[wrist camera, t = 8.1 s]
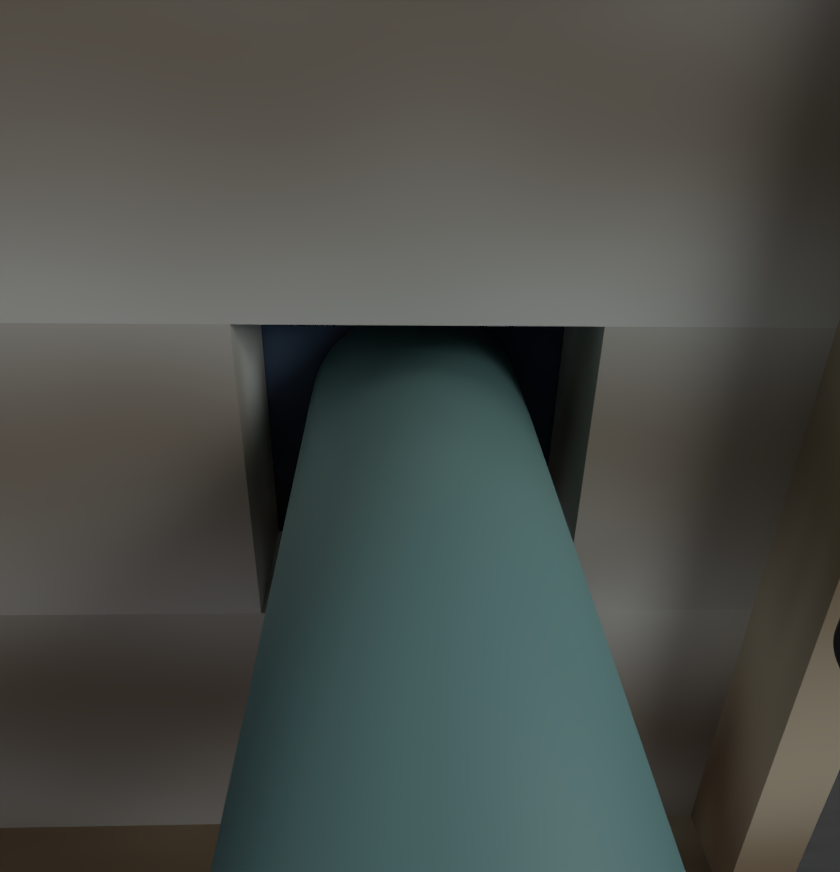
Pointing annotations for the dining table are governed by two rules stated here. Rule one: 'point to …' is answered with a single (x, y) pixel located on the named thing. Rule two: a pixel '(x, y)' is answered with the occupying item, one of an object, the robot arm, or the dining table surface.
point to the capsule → (433, 642)
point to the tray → (414, 305)
